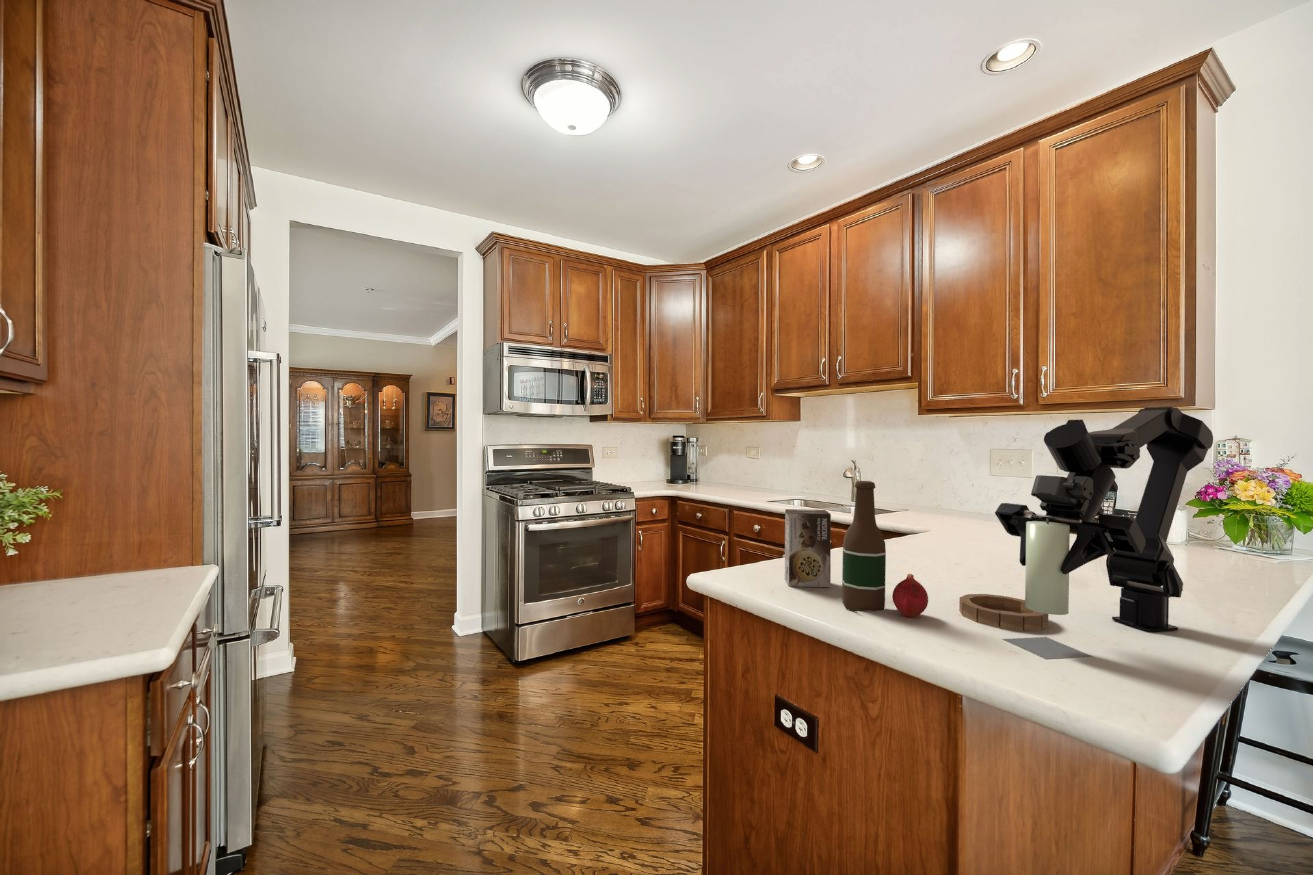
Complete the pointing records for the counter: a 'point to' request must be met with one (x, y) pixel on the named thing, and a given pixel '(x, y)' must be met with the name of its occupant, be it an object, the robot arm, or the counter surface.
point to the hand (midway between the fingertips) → (1041, 568)
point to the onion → (910, 597)
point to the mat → (1047, 648)
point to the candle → (1046, 567)
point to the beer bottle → (864, 556)
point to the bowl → (1001, 612)
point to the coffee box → (807, 548)
